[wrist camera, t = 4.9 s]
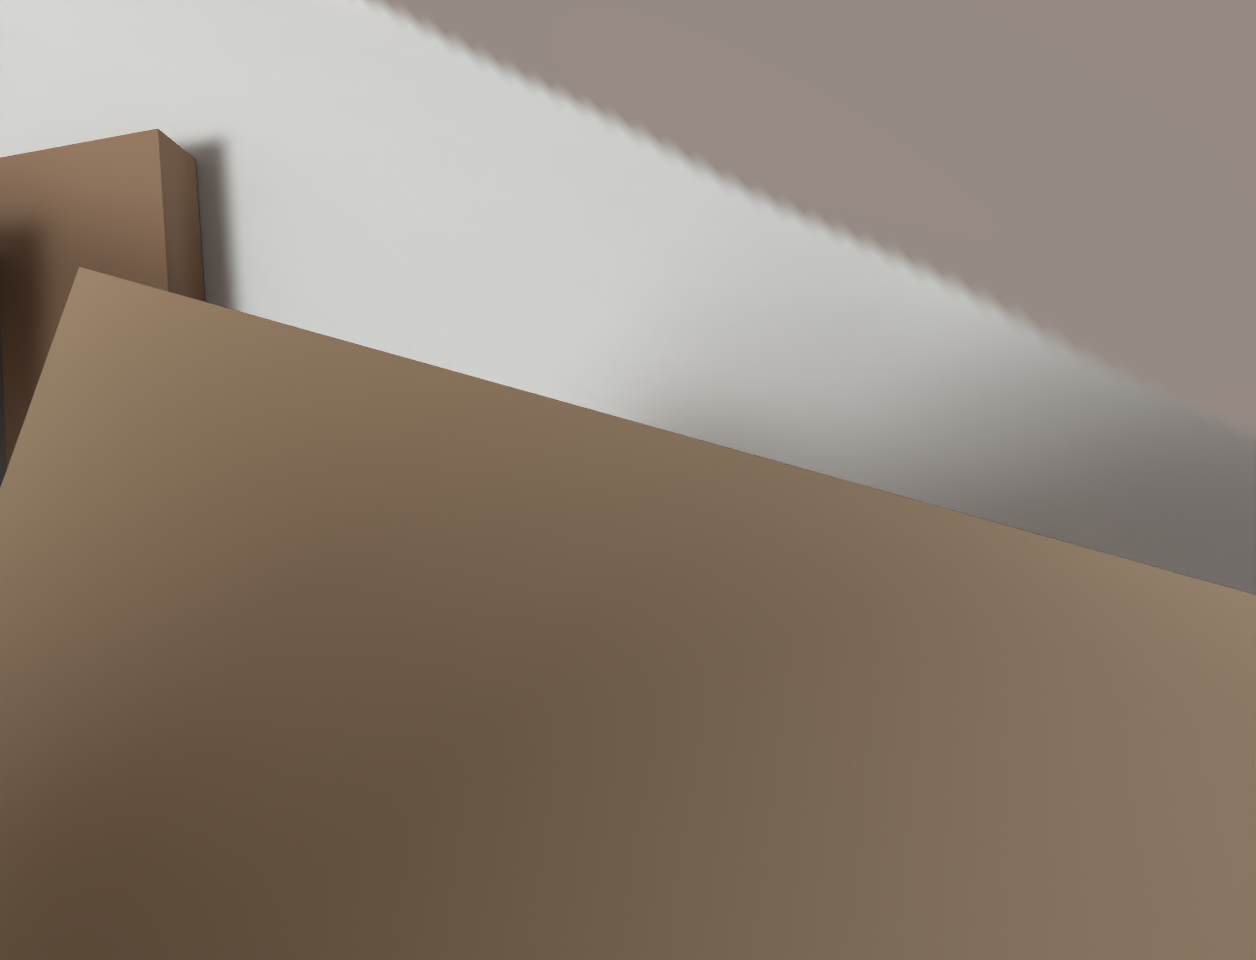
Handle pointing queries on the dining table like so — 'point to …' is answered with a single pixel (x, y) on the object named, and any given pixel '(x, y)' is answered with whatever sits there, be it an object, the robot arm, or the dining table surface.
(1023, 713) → the oak T piece
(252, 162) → the dining table surface
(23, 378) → the stand
